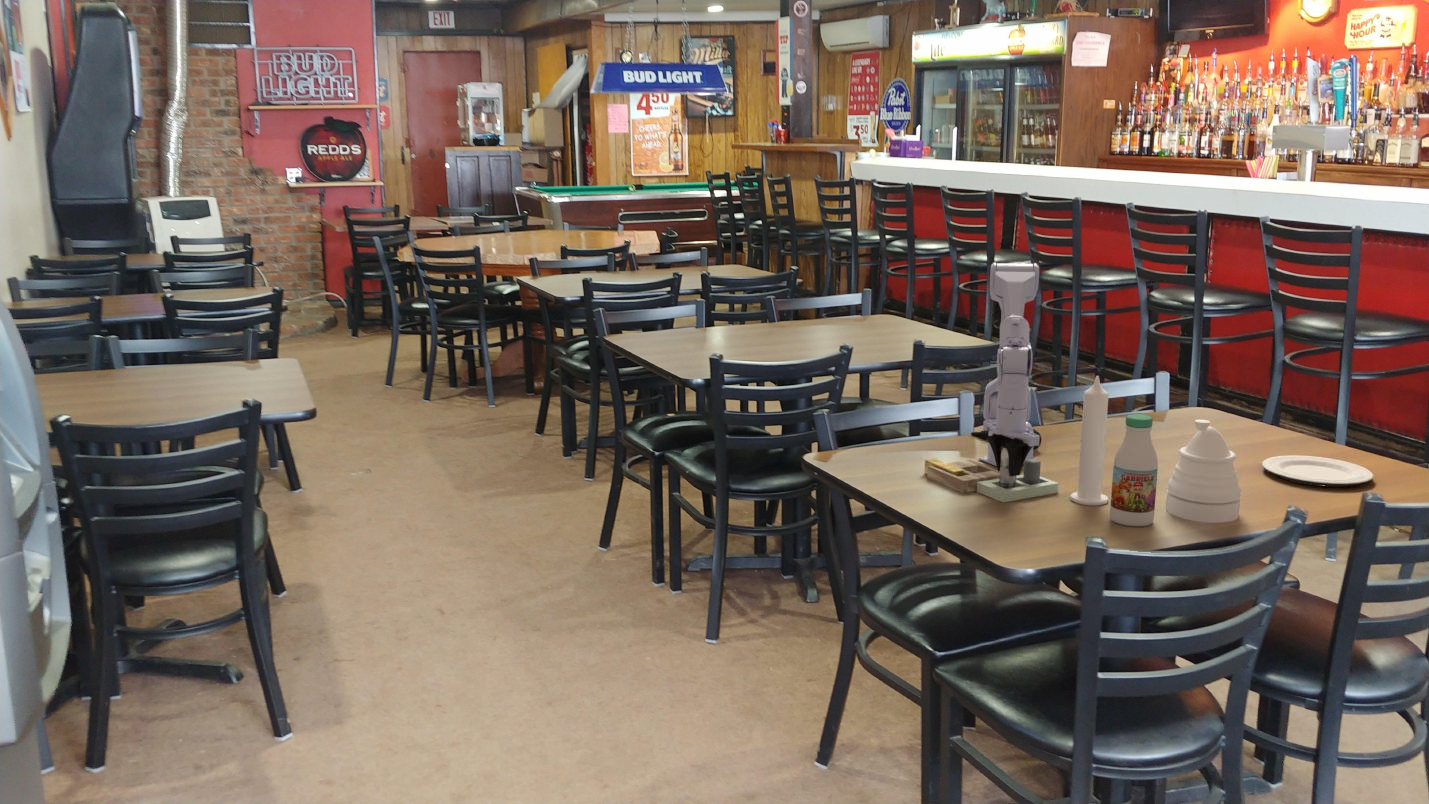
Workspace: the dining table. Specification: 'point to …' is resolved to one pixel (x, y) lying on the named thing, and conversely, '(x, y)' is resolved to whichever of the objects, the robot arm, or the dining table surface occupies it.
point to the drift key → (943, 467)
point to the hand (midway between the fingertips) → (1008, 472)
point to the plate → (1317, 470)
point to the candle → (1092, 447)
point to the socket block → (964, 475)
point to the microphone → (985, 434)
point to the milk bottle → (1135, 475)
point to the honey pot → (1205, 479)
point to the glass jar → (1005, 471)
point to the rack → (1020, 485)
